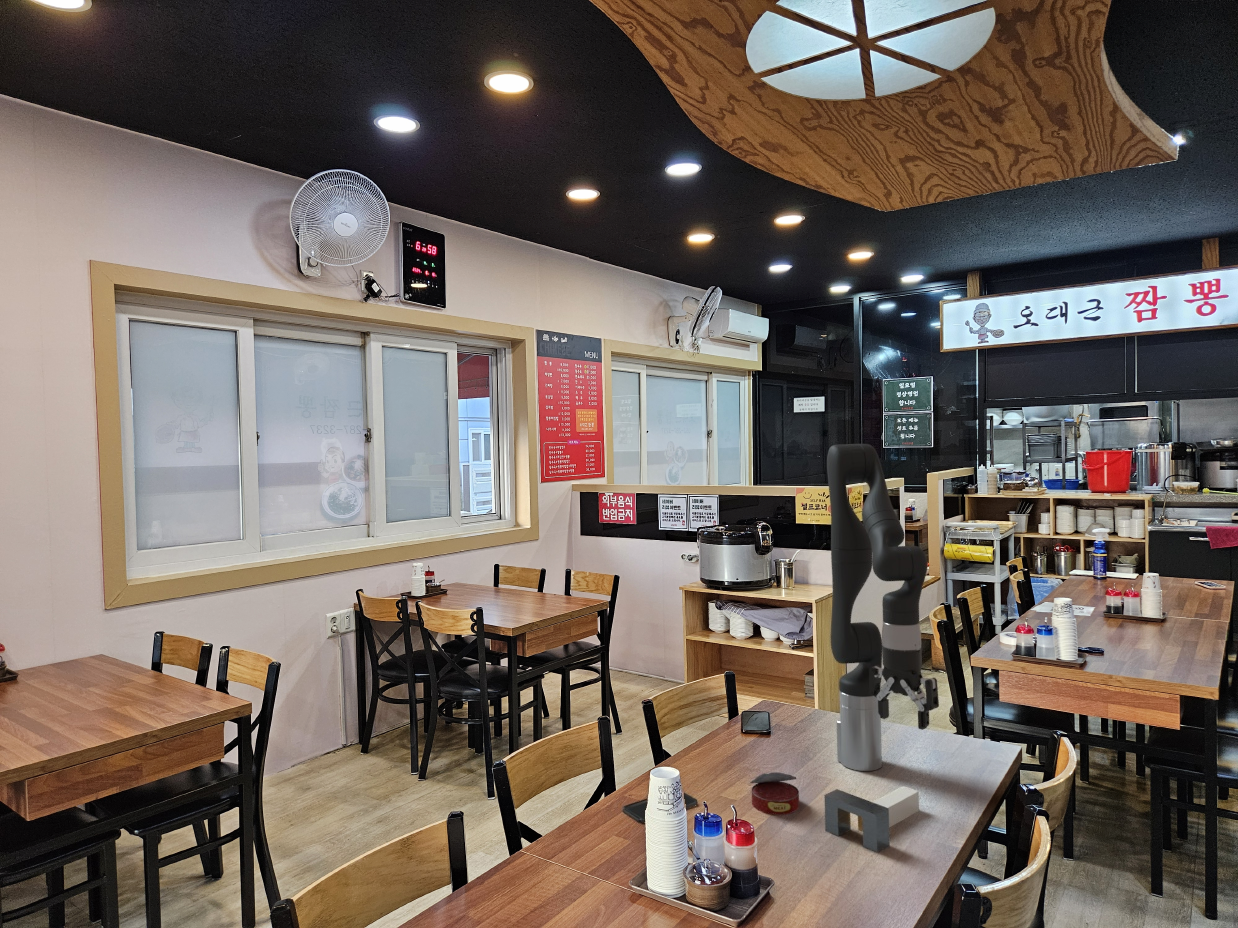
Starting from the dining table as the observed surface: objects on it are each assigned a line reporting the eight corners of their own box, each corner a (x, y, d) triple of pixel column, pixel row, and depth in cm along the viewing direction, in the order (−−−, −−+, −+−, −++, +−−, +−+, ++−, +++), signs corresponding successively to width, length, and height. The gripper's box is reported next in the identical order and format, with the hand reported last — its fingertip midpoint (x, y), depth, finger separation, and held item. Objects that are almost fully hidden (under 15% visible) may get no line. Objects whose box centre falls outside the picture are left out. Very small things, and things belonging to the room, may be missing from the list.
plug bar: (858, 829, 154) (857, 809, 154) (903, 804, 164) (903, 785, 164) (873, 836, 151) (873, 815, 151) (919, 810, 161) (918, 791, 161)
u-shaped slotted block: (825, 830, 154) (824, 794, 154) (837, 823, 156) (836, 788, 156) (877, 852, 145) (876, 814, 145) (889, 845, 147) (888, 808, 147)
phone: (620, 806, 165) (677, 788, 173) (620, 812, 165) (677, 793, 173) (641, 821, 158) (700, 800, 167) (642, 826, 158) (700, 806, 167)
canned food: (754, 830, 164) (731, 785, 166) (775, 807, 172) (753, 764, 174) (797, 819, 158) (772, 772, 160) (817, 795, 166) (793, 751, 168)
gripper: (860, 641, 163) (862, 718, 164) (924, 653, 152) (926, 736, 153) (880, 635, 168) (882, 710, 168) (944, 646, 157) (946, 727, 157)
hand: (903, 722), depth 161 cm, fingers open, 8 cm apart
